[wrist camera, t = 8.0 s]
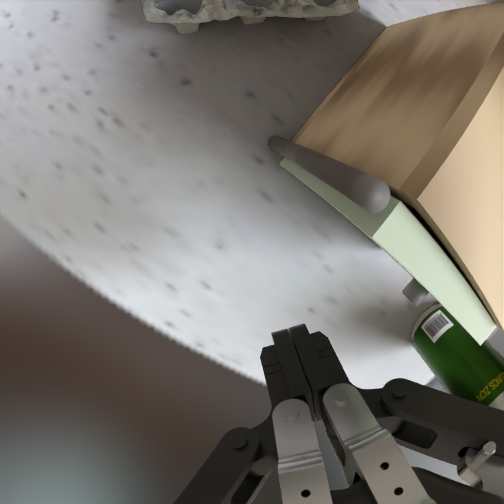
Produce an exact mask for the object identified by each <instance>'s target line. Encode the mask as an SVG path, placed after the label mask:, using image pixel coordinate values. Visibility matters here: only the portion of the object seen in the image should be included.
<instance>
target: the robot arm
mask: <svg viewBox="0 0 504 504" xmlns="http://www.w3.org/2000/svg"><path fill="white" fill-rule="evenodd" d="M288 329H289V331H288ZM288 329H284V330H280V331H277V332H273V333H271V334H272V338H273V342H274V345H271V346H267V347H263V349H262V353H261V356H260V359H261V363H262V367H263V371H264V375H265V379H266V383H267V387H268V391H269V395H270V399H271V404H272V409H271V413H270V415H269V416H268V418H267V419H266V420H265V421H264V422H263V423H261V424H259V425H257V426H256V427H254V428H252V429H249V428H243V427H239V428H234V429H232V430H230V431H228V432H227V433H226V434H225V435H224V436H223V438H222V439H221V441H220V442H219V444H218V445H217V446H216V448H215V449H214V451H213V452H212V453H211V455H210V456H209V458H208V459H207V460H206V462H205V463H204V464H203V466H202V467H201V468H200V470H199V471H198V472H197V474H196V475H195V476H194V478H193V479H192V480H191V482H190V483H189V484H188V486H187V487H186V488H185V489H184V491H183V492H182V493H181V495H180V496H179V497H178V498H177V500H176V501H175V502H174V503H173V504H251V503H252V501H253V500H254V498H255V497H256V495H257V494H258V492H259V491H260V489H261V487H262V485H263V484H264V482H265V481H266V479H267V478H268V476H269V474H270V472H271V471H272V470H274V469H276V468H277V467H278V471H279V478H280V485H281V492H282V499H283V504H504V410H500V409H497V408H493V407H490V406H486V405H483V404H480V403H476V402H473V401H470V400H467V399H463V398H460V397H457V396H454V395H451V394H448V393H445V392H442V391H439V390H436V389H433V388H430V387H427V386H424V385H421V384H418V383H416V382H413V381H410V380H407V379H403V378H397V379H393V380H391V381H389V382H387V383H386V384H385V385H384V387H383V388H379V389H361V388H358V387H356V386H354V385H353V384H352V383H351V382H350V381H349V379H348V377H347V375H346V373H345V371H344V369H343V367H342V365H341V363H340V361H339V359H338V357H337V355H336V353H335V351H334V349H333V348H332V345H331V343H330V341H329V339H328V337H326V336H325V335H324V334H322V333H321V332H320V331H318V332H315V333H312V334H309V332H308V329H307V327H306V325H305V324H301V325H297V326H294V327H291V328H288ZM314 415H315V416H314ZM315 417H316V420H317V421H319V420H323V422H324V425H325V428H326V435H327V437H328V439H329V441H330V444H331V445H332V448H333V450H334V452H335V454H336V456H337V458H338V460H339V463H340V464H341V467H342V469H343V472H344V476H345V479H346V481H347V484H348V486H349V488H347V489H344V490H334V491H330V490H329V486H328V481H327V477H326V473H325V468H324V464H323V460H322V457H321V454H320V450H319V446H318V442H317V438H316V434H315V428H314V422H315ZM397 444H399V445H401V446H404V447H406V448H409V449H412V450H414V451H417V452H420V453H422V454H425V455H428V456H430V457H433V458H436V459H439V460H442V461H445V462H447V463H450V464H454V465H456V466H457V473H458V475H459V477H460V478H461V479H462V480H464V481H466V482H467V483H469V484H470V486H468V485H465V484H462V483H460V482H457V481H454V480H451V479H449V478H446V477H443V476H441V475H438V474H436V473H433V472H431V471H428V470H425V469H423V468H419V467H411V466H410V464H409V463H408V461H407V459H406V458H405V456H404V454H403V453H402V451H401V449H400V448H399V446H398V445H397Z"/></svg>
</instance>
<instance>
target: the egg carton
mask: <svg viewBox="0 0 504 504" xmlns="http://www.w3.org/2000/svg"><path fill="white" fill-rule="evenodd" d="M161 1H163V0H141V3H142V8H143V12H144V15H145V18H146V20H147V22H151V23H171V24H172V25H174V26H175V27H176V29H177V30H178V32H179V34H180V35H184V34H188V33H193V32H197V31H198V30H199V24H200V23H203V22H210V21H212V20H219V21H224V20H229V19H231V18H233V17H236V16H240V18H241V19H242V21H243V23H244V24H254V23H262V22H263V21H264V20H265V19H266V17H278V16H279V17H294V18H305V19H306V20H309V21H320V20H323V19H325V18H326V17H327V16H342V15H346V14H349V13H351V12H354V11H356V10H359V4H358V0H336V1H335V2H334V3H332V4H330V5H329V6H327V7H325V6H322V7H320V6H319V5H317V4H316V3H315V2H314V1H313V0H274V1H273V2H272V4H271V5H270V7H269V8H266V7H261V8H258V7H256V5H254V4H247V3H245V2H244V0H203V1H202V4H201V7H200V10H199V11H198V12H197V13H196V14H191V13H190V11H186V10H185V9H179V10H177V11H176V12H175V13H174V14H173V15H170V14H169V13H167V12H166V11H164V10H160V9H157V6H158V4H159V3H160V2H161ZM255 9H259V11H257V12H254V11H253V10H255Z"/></svg>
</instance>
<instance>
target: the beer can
mask: <svg viewBox="0 0 504 504" xmlns="http://www.w3.org/2000/svg"><path fill="white" fill-rule="evenodd" d="M411 336H412V342H413V347H414V348H415V349H416V351H417V352H418V353H419V354H420V356H421V357H422V358H423V360H424V361H425V362H426V364H427V365H428V367H429V368H430V369H431V371H432V372H433V373H434V375H435V376H436V377H437V379H438V380H439V382H440V383H441V384H442V386H443V387H444V389H445V390H446V391H447V393H448V394H451V395H454V396H457V397H460V398H463V399H467V400H470V401H473V402H476V403H480V404H483V405H486V406H490V407H493V408H497V409H500V410H504V358H503V356H502V355H501V354H500V353H499V352H498V351H497V350H496V349H495V348H494V347H493V345H492V344H491V343H490V342H489V341H488V340H487V339H486V340H485V341H484V342H483V343H482V345H481V346H480V345H479V343H478V342H477V341H476V340H475V339H474V338H473V337H472V336H471V335H470V334H469V333H468V332H467V331H466V329H465V328H464V327H463V326H462V325H461V324H460V323H459V322H458V321H457V320H456V319H455V318H454V317H453V316H452V315H451V314H450V313H449V312H448V311H447V310H446V309H445V308H444V307H443V306H442V305H441V304H440V303H438V304H435V305H433V306H431V307H430V308H428V309H427V310H426V311H425V312H424V313H423V314H422V315H421V316H420V317H419V318H418V320H417V321H416V323H415V325H414V327H413V329H412V333H411Z"/></svg>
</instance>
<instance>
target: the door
mask: <svg viewBox="0 0 504 504" xmlns="http://www.w3.org/2000/svg"><path fill="white" fill-rule="evenodd" d="M279 165H281V166H282V167H283V168H285V169H286V170H287V171H288V172H290V173H291V174H292V175H294V176H295V177H296V178H298V179H299V180H300V181H301V182H303V183H304V184H305V185H307V186H308V187H309V188H310V189H312V190H313V191H314V192H315V193H317V194H318V195H319V196H320V197H322V198H323V199H324V200H325V201H327V202H328V203H329V204H330V205H332V206H333V207H334V208H335V209H336V210H338V211H339V212H340V213H341V214H342V215H344V216H345V217H346V218H347V219H348V220H350V221H351V222H352V223H353V224H354V225H355V226H357V227H358V228H359V229H360V230H361V231H362V232H364V233H365V234H366V235H367V236H368V237H369V238H370V239H372V240H373V241H374V242H375V243H376V244H377V245H378V246H379V247H381V248H382V249H383V250H384V251H385V252H386V253H387V254H388V255H389V256H391V257H392V258H393V259H394V260H395V261H396V262H397V263H398V264H399V265H400V266H402V267H403V268H404V269H405V270H406V271H407V272H408V273H409V274H410V275H411V276H412V277H413V279H412V281H411V282H410V283H409V284H408V285H407V286H406V288H405V289H404V290H403V291H402V292H403V294H404V295H405V296H406V297H407V298H408V299H409V300H410V301H411V302H412V303H414V304H415V305H416V306H418V305H419V303H420V302H421V301H422V300H423V299H424V298H425V297H426V295H427V294H428V293H430V294H431V295H432V296H433V297H434V298H435V299H436V300H437V301H438V302H439V303H440V304H441V305H442V306H443V307H444V308H445V309H446V310H447V311H448V312H449V313H450V314H451V315H452V316H453V317H454V318H455V319H456V320H457V321H458V322H459V323H460V324H461V325H462V326H463V327H464V328H465V329H466V331H467V332H468V333H469V334H470V335H471V336H472V337H473V338H474V339H475V340H476V341H477V342H478V343H479V345H480V346H481V345H482V343H483V342H484V341H485V340H486V339H487V338H488V336H489V335H490V334H491V333H492V332H493V330H494V329H495V328H496V327H497V326H496V325H495V323H494V322H493V320H492V318H491V317H490V315H489V314H488V312H487V311H486V309H485V308H484V306H483V305H482V303H481V302H480V300H479V299H478V297H477V296H476V294H475V293H474V292H473V290H472V289H471V287H470V286H469V285H468V283H467V282H466V280H465V279H464V278H463V276H462V275H461V274H460V272H459V271H458V270H457V268H456V267H455V266H454V264H453V263H452V262H451V260H450V259H449V258H448V257H447V255H446V254H445V253H444V251H443V250H442V249H441V248H440V246H439V245H438V244H437V243H436V242H435V240H434V239H433V238H432V237H431V235H430V234H429V233H428V232H427V231H426V230H425V228H424V227H423V226H422V225H421V224H420V223H419V221H418V220H417V219H416V218H415V217H414V216H413V215H412V213H411V212H410V211H409V210H408V209H407V208H406V207H405V206H404V204H403V203H402V202H401V201H399V200H398V199H396V198H394V197H392V196H390V200H389V203H388V205H387V206H386V207H385V209H383V210H382V211H381V212H378V213H370V212H368V211H366V210H365V209H363V208H362V207H360V206H359V205H358V204H356V203H355V202H353V201H352V200H350V199H349V198H347V197H346V196H344V195H343V194H341V193H340V192H338V191H337V190H335V189H334V188H332V187H331V186H329V185H328V184H326V183H325V182H323V181H322V180H320V179H319V178H317V177H315V176H314V175H312V174H311V173H309V172H308V171H306V170H304V169H303V168H301V167H300V166H298V165H296V164H295V163H293V162H291V161H290V160H288V159H286V158H285V157H284V158H283V160H282V161H281V162H280V163H279Z"/></svg>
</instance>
